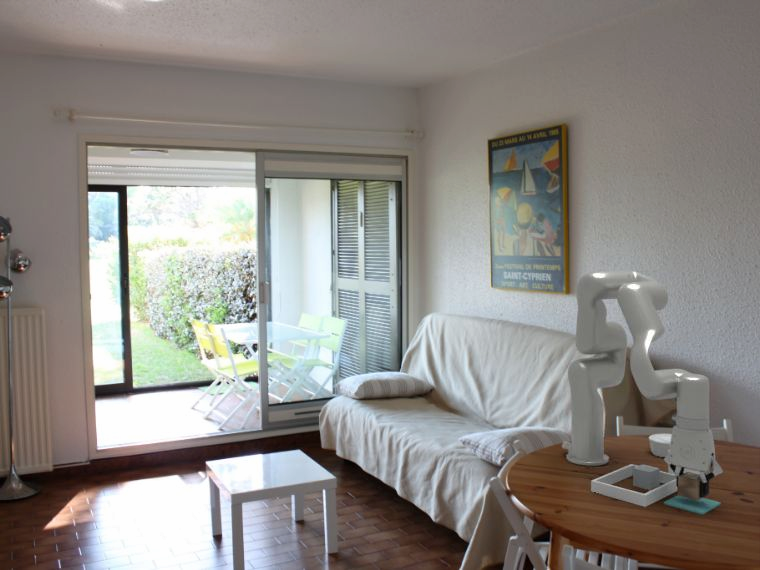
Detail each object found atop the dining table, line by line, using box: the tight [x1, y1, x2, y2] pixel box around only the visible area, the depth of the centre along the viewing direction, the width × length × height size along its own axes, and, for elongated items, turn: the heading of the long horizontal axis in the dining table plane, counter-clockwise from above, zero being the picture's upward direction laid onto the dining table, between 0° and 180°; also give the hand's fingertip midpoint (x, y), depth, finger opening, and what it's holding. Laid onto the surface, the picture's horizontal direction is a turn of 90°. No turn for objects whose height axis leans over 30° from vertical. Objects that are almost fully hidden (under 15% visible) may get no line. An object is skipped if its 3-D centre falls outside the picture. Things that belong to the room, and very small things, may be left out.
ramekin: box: [648, 433, 672, 458], centre depth 225 cm, size 11×11×5 cm
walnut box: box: [677, 472, 701, 501], centre depth 182 cm, size 5×5×5 cm
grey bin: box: [590, 463, 678, 508], centre depth 194 cm, size 16×21×3 cm
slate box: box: [632, 463, 661, 491], centre depth 197 cm, size 5×5×5 cm
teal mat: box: [663, 494, 722, 516], centre depth 182 cm, size 10×10×1 cm
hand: (692, 492), depth 182 cm, fingers closed on walnut box, 5 cm apart
